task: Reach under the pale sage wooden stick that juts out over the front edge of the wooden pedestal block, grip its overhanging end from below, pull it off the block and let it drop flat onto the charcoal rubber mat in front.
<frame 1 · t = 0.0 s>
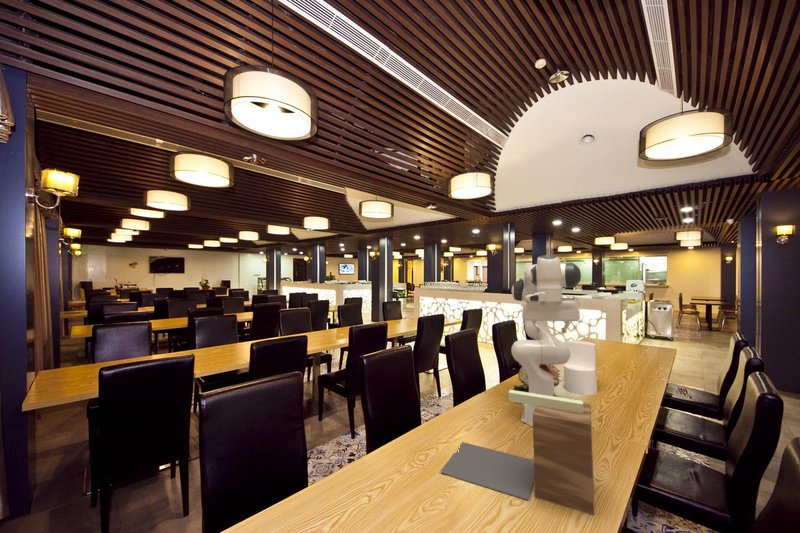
hand: (550, 332, 126), 48 cm above the table, tool pointing down, fingers open, 8 cm apart
stick: (544, 405, 110), point 26 cm above the table, touching wooden pedestal block
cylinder: (580, 390, 197), on the table
mat: (490, 467, 119), on the table
rose bouquet: (537, 398, 185), on the table
wooden pedestal block: (565, 488, 107), on the table
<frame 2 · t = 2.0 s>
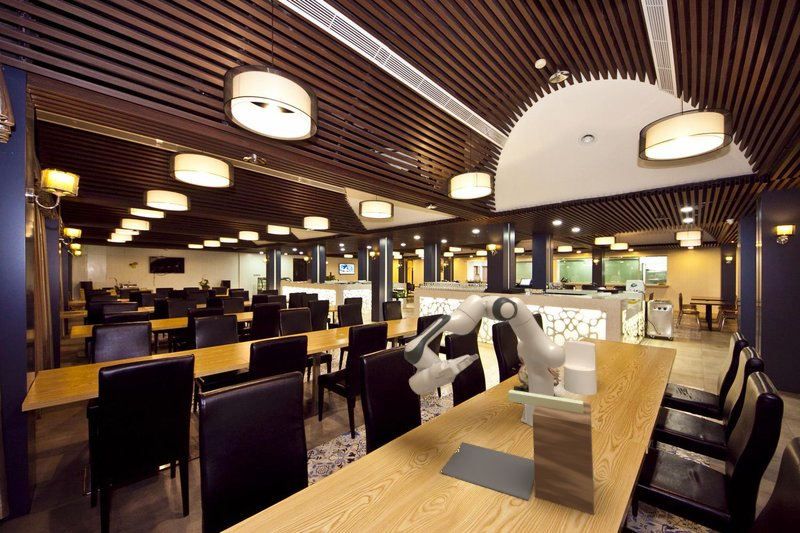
hand: (473, 358, 123), 39 cm above the table, tool pointing upward, fingers open, 8 cm apart
nothing on the table moved.
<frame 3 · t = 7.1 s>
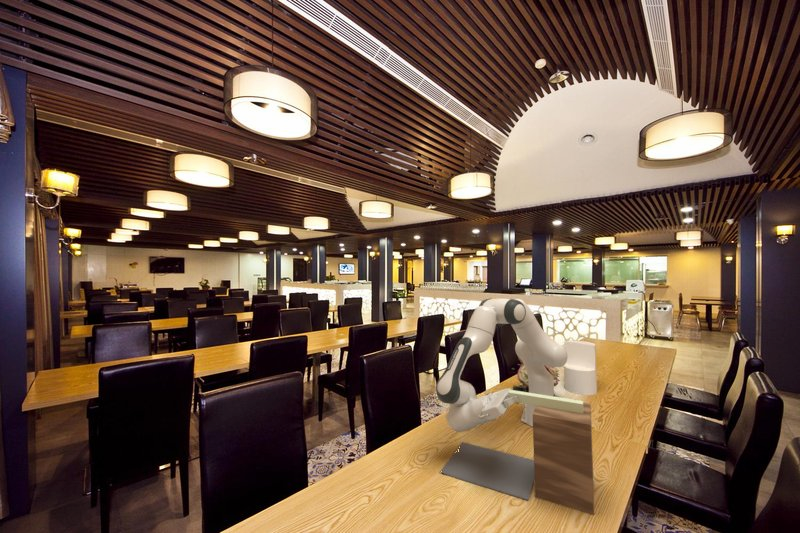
hand: (519, 395, 115), 28 cm above the table, tool pointing upward, fingers closed on stick, 3 cm apart
stick: (544, 405, 110), point 26 cm above the table, touching gripper, wooden pedestal block
everything else where it was.
when the fingers open (19 cm above the table, at t = 14.3 s): stick drops 17 cm, resting on mat.
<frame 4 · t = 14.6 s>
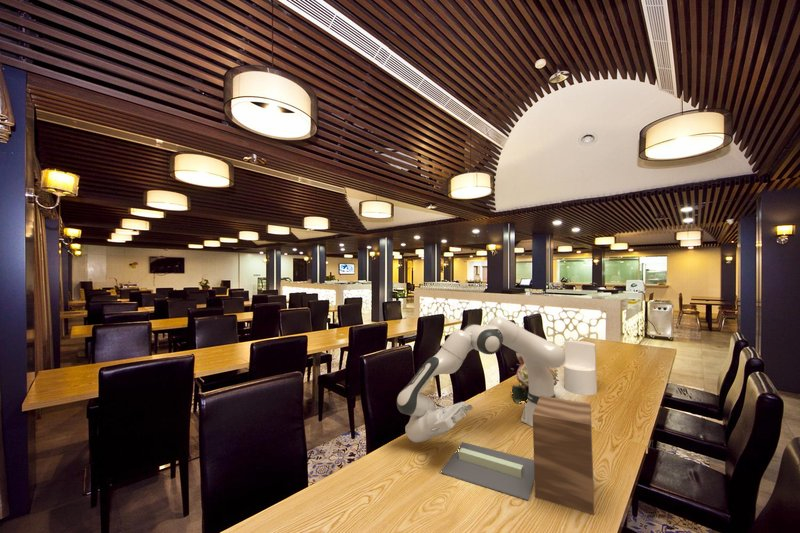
hand: (468, 409, 124), 19 cm above the table, tool pointing upward, fingers open, 6 cm apart
stick: (489, 466, 119), resting on mat
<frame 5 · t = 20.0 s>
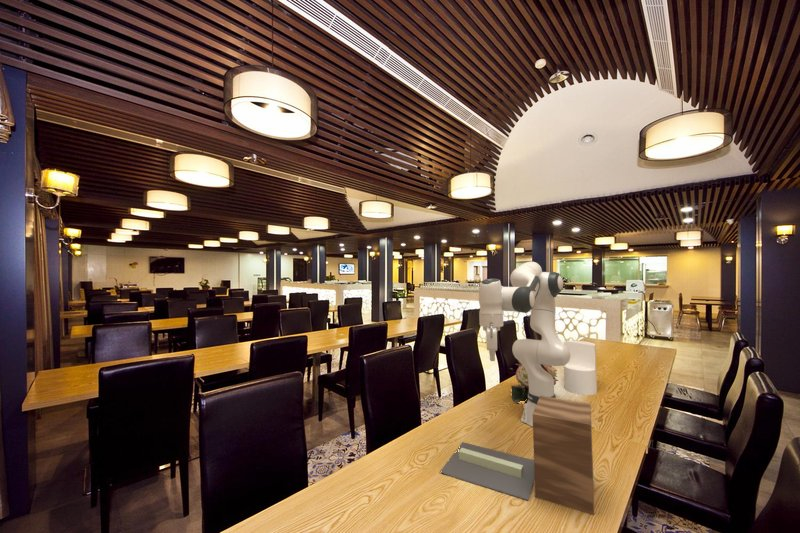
hand: (492, 357, 124), 39 cm above the table, tool pointing down, fingers open, 8 cm apart
at the end: stick inside the target area on the mat (0.2 cm from its centre), point 0.4 cm above the mat's base; stick touching mat; the gripper is holding nothing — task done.
